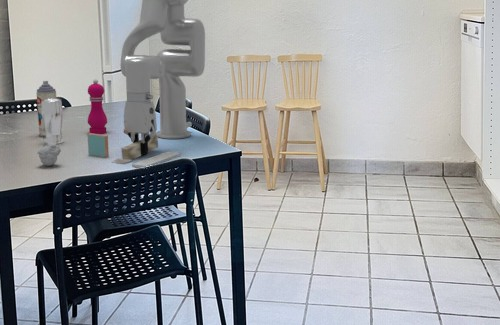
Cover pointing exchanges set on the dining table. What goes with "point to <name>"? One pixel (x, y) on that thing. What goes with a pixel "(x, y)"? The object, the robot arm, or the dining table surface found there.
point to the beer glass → (52, 120)
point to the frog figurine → (49, 154)
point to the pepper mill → (96, 109)
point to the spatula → (135, 151)
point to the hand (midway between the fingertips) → (140, 153)
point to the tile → (98, 145)
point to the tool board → (156, 159)
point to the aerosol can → (42, 93)
